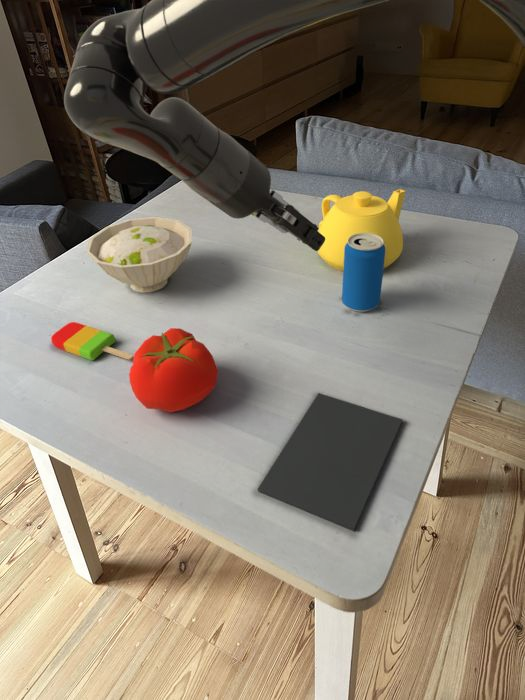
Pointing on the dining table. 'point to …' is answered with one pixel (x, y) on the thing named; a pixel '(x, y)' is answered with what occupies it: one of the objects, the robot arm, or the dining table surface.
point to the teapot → (360, 224)
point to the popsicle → (85, 341)
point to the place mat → (332, 460)
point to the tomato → (172, 371)
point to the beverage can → (363, 271)
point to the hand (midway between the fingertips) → (301, 233)
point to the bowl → (141, 251)
